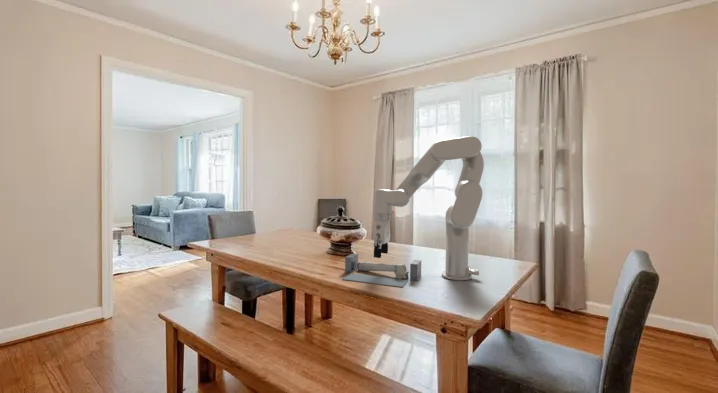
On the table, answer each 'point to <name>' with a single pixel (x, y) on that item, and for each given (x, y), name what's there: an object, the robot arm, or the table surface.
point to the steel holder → (352, 263)
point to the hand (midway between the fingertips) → (380, 255)
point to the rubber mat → (376, 280)
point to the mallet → (384, 268)
